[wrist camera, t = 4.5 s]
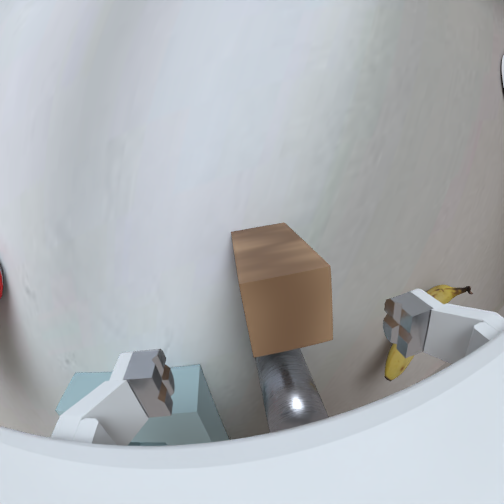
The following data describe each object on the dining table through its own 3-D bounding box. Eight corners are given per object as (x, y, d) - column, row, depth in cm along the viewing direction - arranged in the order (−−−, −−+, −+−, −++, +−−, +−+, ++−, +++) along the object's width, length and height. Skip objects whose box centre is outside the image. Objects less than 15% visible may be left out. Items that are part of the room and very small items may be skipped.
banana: (374, 359, 22) (394, 387, 19) (362, 348, 22) (382, 377, 18) (449, 280, 21) (477, 297, 17) (440, 263, 20) (470, 281, 16)
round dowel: (296, 328, 20) (331, 406, 13) (299, 362, 21) (329, 438, 14) (251, 338, 20) (267, 421, 12) (258, 371, 21) (274, 451, 13)
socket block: (199, 364, 20) (196, 411, 16) (231, 444, 24) (234, 482, 19) (75, 372, 20) (55, 410, 15) (128, 448, 23) (121, 482, 19)
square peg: (284, 222, 18) (330, 265, 10) (290, 272, 19) (332, 339, 11) (231, 232, 18) (238, 284, 10) (240, 281, 19) (253, 357, 11)
